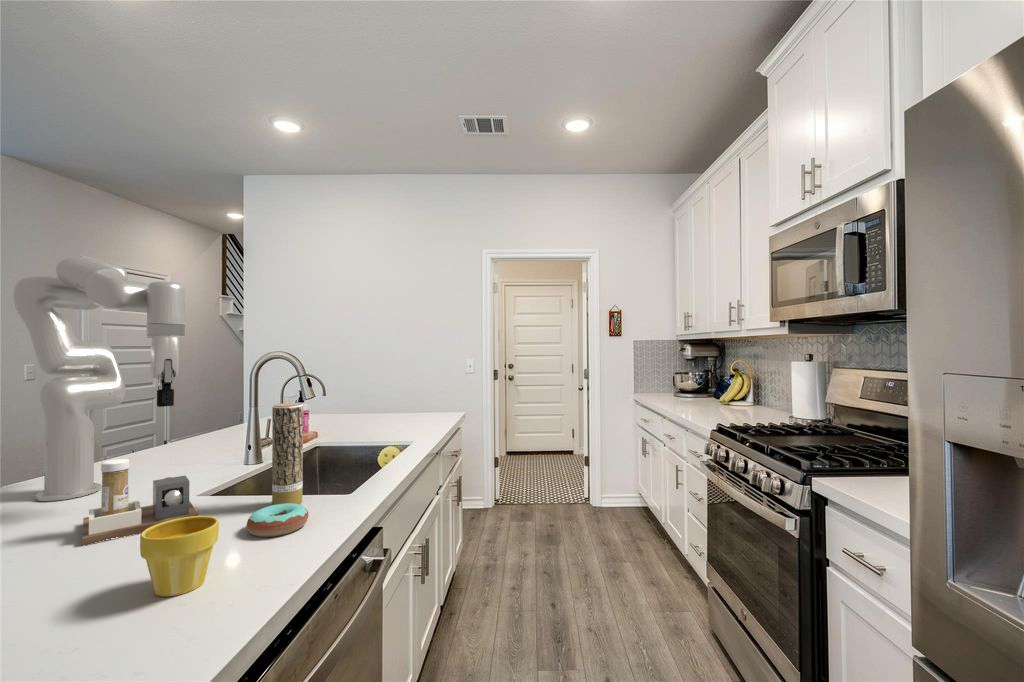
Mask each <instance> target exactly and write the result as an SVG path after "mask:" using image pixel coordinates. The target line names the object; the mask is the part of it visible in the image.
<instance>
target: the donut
mask: <svg viewBox="0 0 1024 682" xmlns="http://www.w3.org/2000/svg"><path fill="white" fill-rule="evenodd" d="M308 519H309V511H308V509H307V508H306V507H305V506H304V505H303V504H293V503H286V504H277V505H269V506H266V507H263V508H260V509H258V510H256V511H254V512H252V514H250V516H249V517H248V519H247V521H246V529H247V530H248V532H249V533H250V535H253V536H256V537H259V538H271V537H272V538H273V537H280V536H284V535H285V536H286V535H288V534H291V533H293V532H296V531H298V530H299V529H301V528H302V527H303V526H305V525H306V524H307V522H308Z"/></svg>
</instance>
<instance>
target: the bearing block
mask: <svg viewBox="0 0 1024 682" xmlns="http://www.w3.org/2000/svg"><path fill="white" fill-rule="evenodd" d="M165 478H166V479H164V478H161V479H156V480H155V479H154V480H153V481H152V505H153V516H154V518H155V521H158V520H163V519H168V518H172V517H177V516H182V515H187V514H189V501H190V480H189V478H188V477H187V475H181V476H180V475H179V476H174V477H172V478H168V477H165ZM179 487H180V493H181V495H182V497H183V498H182V501H181V502H180V503H179V504H178V505H176V506H168V505H167V504H166V502H165V500H162V490H167V489H173V488H179Z"/></svg>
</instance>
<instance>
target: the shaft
mask: <svg viewBox="0 0 1024 682" xmlns="http://www.w3.org/2000/svg"><path fill="white" fill-rule="evenodd" d="M166 478H172V477H171V476H168V477H165V478H163V479H166ZM182 498H183V497H182V495H181V493H180V487H179V488H173V489H167V490H162V500H165V502H166V504H167V505H168V506H176V505H178V504H179V503H180V502H181V501H182Z"/></svg>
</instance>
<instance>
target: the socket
mask: <svg viewBox="0 0 1024 682" xmlns="http://www.w3.org/2000/svg"><path fill="white" fill-rule="evenodd" d="M141 507H142V506H141V504H140V501H139V500H135V501H130V502H129V501H128V512H123V513H118V514H113V515H107V516H102V511H101V507H96V508H91V509H88V517H89V535H92V534H96V533H101V532H106V531H111V530H116V529H120V528H125V527H130V526H135V525H139V524H141Z"/></svg>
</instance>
